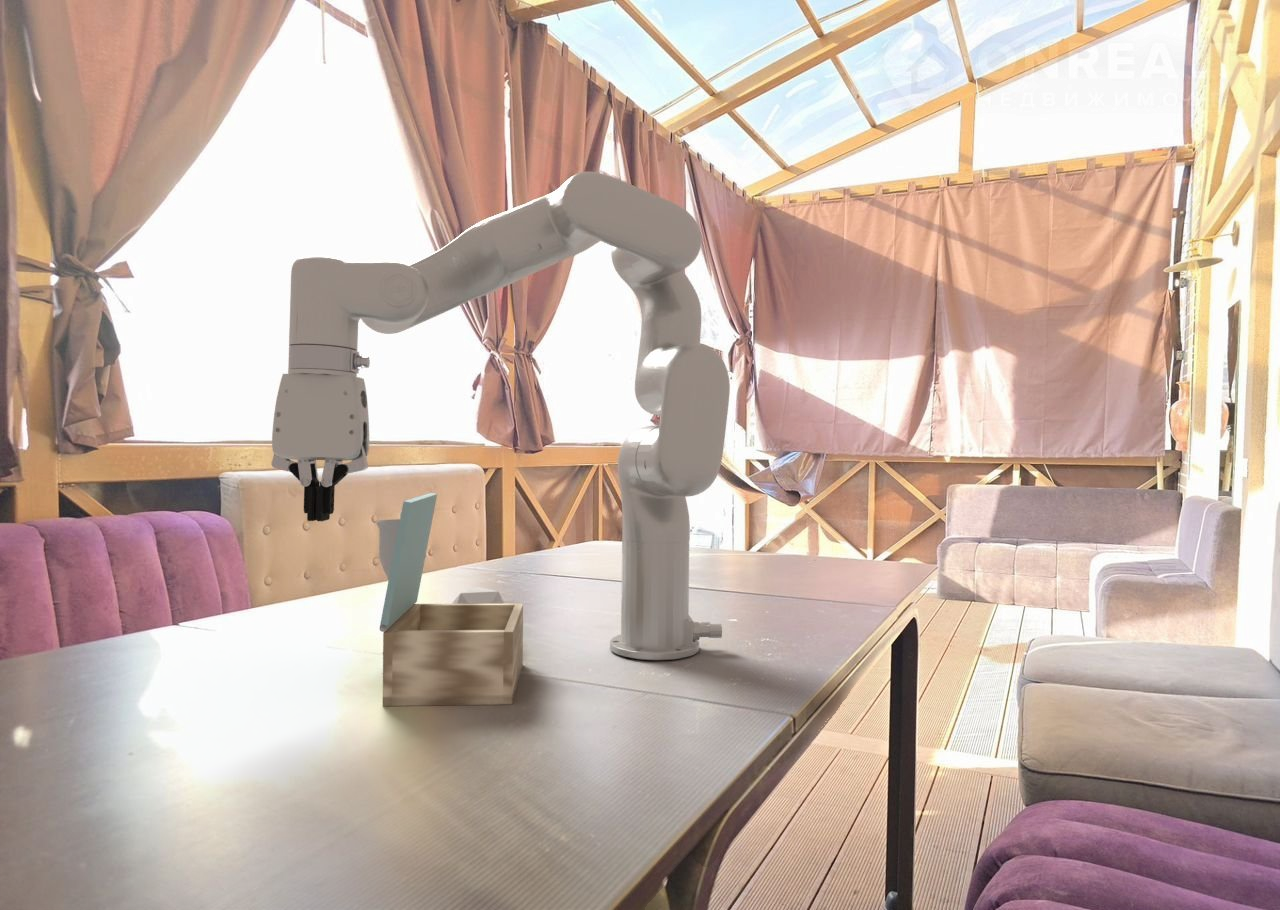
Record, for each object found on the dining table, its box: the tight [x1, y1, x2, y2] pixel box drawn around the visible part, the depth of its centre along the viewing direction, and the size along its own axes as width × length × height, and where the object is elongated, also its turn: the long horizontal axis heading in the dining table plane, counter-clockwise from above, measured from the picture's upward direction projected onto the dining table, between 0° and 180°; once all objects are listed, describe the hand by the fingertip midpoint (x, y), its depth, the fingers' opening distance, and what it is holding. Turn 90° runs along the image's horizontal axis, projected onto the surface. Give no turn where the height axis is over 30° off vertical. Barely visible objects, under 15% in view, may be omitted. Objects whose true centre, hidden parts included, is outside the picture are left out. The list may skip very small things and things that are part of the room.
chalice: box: [375, 518, 427, 581], centre depth 108 cm, size 7×7×18 cm
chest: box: [382, 602, 524, 707], centre depth 94 cm, size 14×16×8 cm
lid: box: [379, 492, 438, 633], centre depth 94 cm, size 14×16×2 cm
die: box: [451, 586, 505, 604], centre depth 112 cm, size 8×9×10 cm
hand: (318, 519), depth 93 cm, fingers closed
